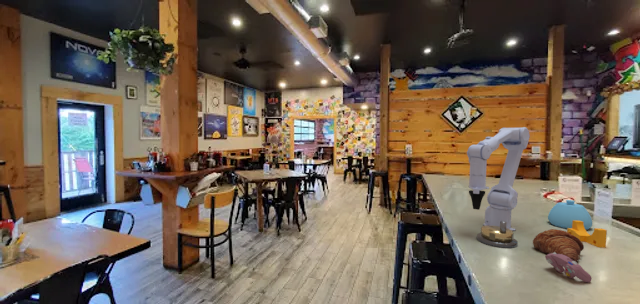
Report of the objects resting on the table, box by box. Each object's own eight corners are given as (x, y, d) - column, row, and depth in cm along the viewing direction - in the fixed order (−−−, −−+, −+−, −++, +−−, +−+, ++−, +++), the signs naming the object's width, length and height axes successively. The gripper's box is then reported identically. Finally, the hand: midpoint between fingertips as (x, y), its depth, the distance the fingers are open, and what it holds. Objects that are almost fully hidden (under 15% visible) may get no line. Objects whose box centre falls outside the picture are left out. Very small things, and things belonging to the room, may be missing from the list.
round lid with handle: (476, 232, 113) (477, 215, 112) (502, 233, 112) (503, 215, 112) (490, 241, 103) (490, 222, 102) (519, 242, 102) (519, 223, 102)
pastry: (515, 246, 104) (516, 224, 103) (542, 240, 110) (543, 220, 109) (570, 265, 88) (572, 240, 88) (599, 258, 94) (600, 234, 94)
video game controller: (548, 272, 86) (539, 252, 86) (561, 265, 87) (552, 245, 86) (581, 289, 77) (571, 267, 76) (595, 281, 77) (586, 259, 76)
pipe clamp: (566, 236, 115) (567, 220, 115) (578, 236, 115) (579, 220, 114) (592, 247, 103) (593, 229, 103) (605, 248, 103) (606, 230, 102)
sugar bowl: (587, 224, 131) (588, 199, 130) (596, 233, 118) (598, 206, 117) (545, 219, 139) (546, 195, 138) (549, 227, 126) (551, 201, 125)
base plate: (468, 236, 112) (468, 233, 112) (495, 234, 116) (495, 230, 115) (497, 249, 100) (497, 245, 99) (526, 246, 103) (526, 242, 103)
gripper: (489, 177, 105) (487, 214, 106) (489, 173, 118) (488, 206, 118) (467, 176, 109) (466, 211, 110) (470, 172, 121) (469, 204, 122)
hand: (476, 209), depth 114 cm, fingers closed
